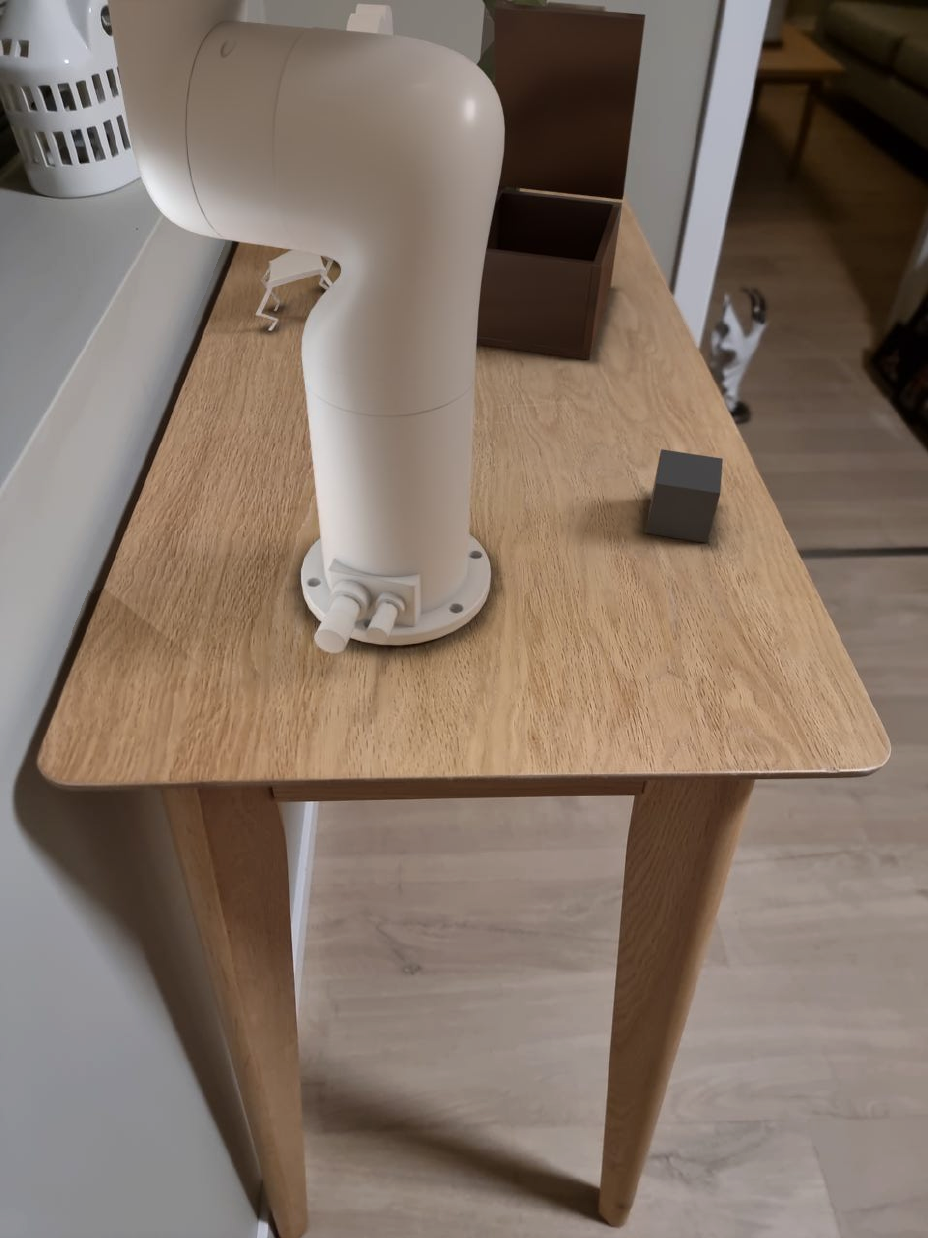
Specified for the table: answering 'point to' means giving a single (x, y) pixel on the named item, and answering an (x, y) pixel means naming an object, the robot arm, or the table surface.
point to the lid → (566, 95)
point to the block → (685, 496)
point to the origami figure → (292, 274)
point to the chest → (547, 272)
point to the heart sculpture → (371, 19)
